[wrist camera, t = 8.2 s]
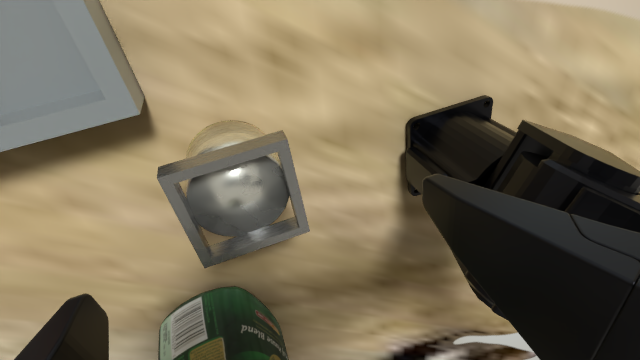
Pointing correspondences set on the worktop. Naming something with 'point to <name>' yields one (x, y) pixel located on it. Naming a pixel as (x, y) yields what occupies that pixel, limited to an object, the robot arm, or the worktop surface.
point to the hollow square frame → (235, 190)
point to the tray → (60, 71)
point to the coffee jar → (221, 329)
